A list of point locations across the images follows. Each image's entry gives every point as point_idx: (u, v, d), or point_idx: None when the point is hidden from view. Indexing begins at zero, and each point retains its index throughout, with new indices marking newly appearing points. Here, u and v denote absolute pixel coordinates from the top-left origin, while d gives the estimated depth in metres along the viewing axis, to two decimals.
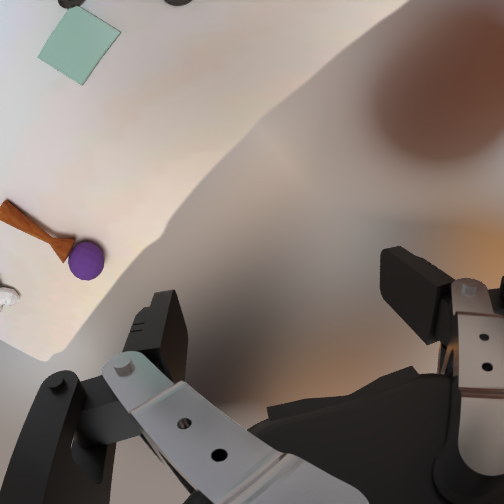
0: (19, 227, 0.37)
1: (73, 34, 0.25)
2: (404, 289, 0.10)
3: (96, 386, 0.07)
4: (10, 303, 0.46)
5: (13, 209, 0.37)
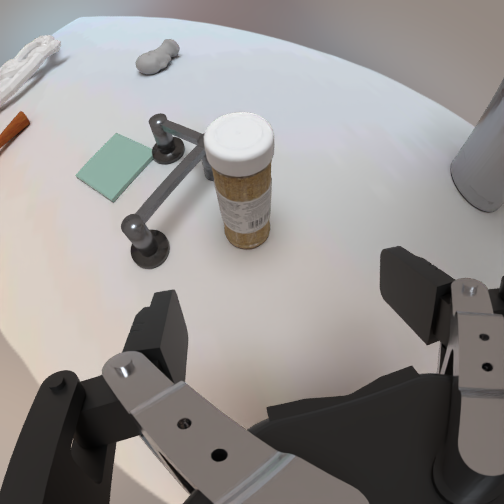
0: (4, 130, 0.37)
1: (123, 158, 0.35)
2: (404, 289, 0.10)
3: (96, 386, 0.07)
4: None
5: (18, 127, 0.39)
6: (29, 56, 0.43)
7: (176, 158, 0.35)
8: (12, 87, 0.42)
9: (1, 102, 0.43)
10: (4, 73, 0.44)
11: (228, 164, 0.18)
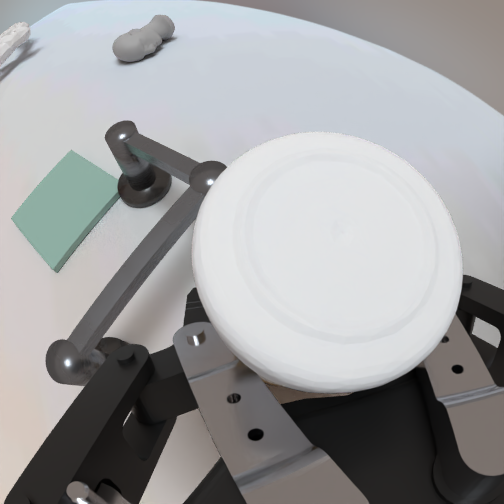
0: None
1: (75, 195, 0.21)
2: None
3: (164, 358, 0.08)
4: None
5: None
6: None
7: (157, 199, 0.20)
8: None
9: None
10: None
11: (300, 389, 0.04)
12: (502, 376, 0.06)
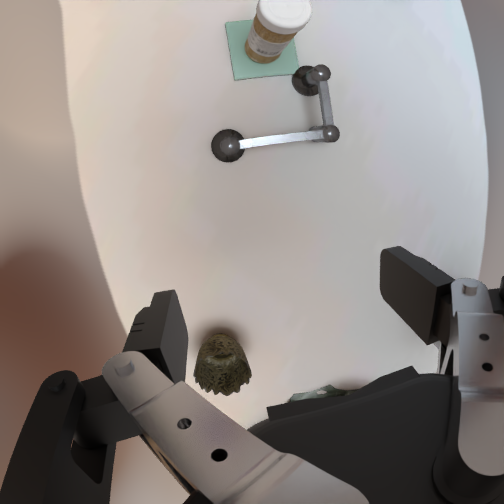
0: None
1: None
2: (404, 289, 0.10)
3: (96, 386, 0.07)
4: None
5: None
6: None
7: (306, 95, 0.34)
8: None
9: None
10: None
11: (260, 15, 0.20)
12: None
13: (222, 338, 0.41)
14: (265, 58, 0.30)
